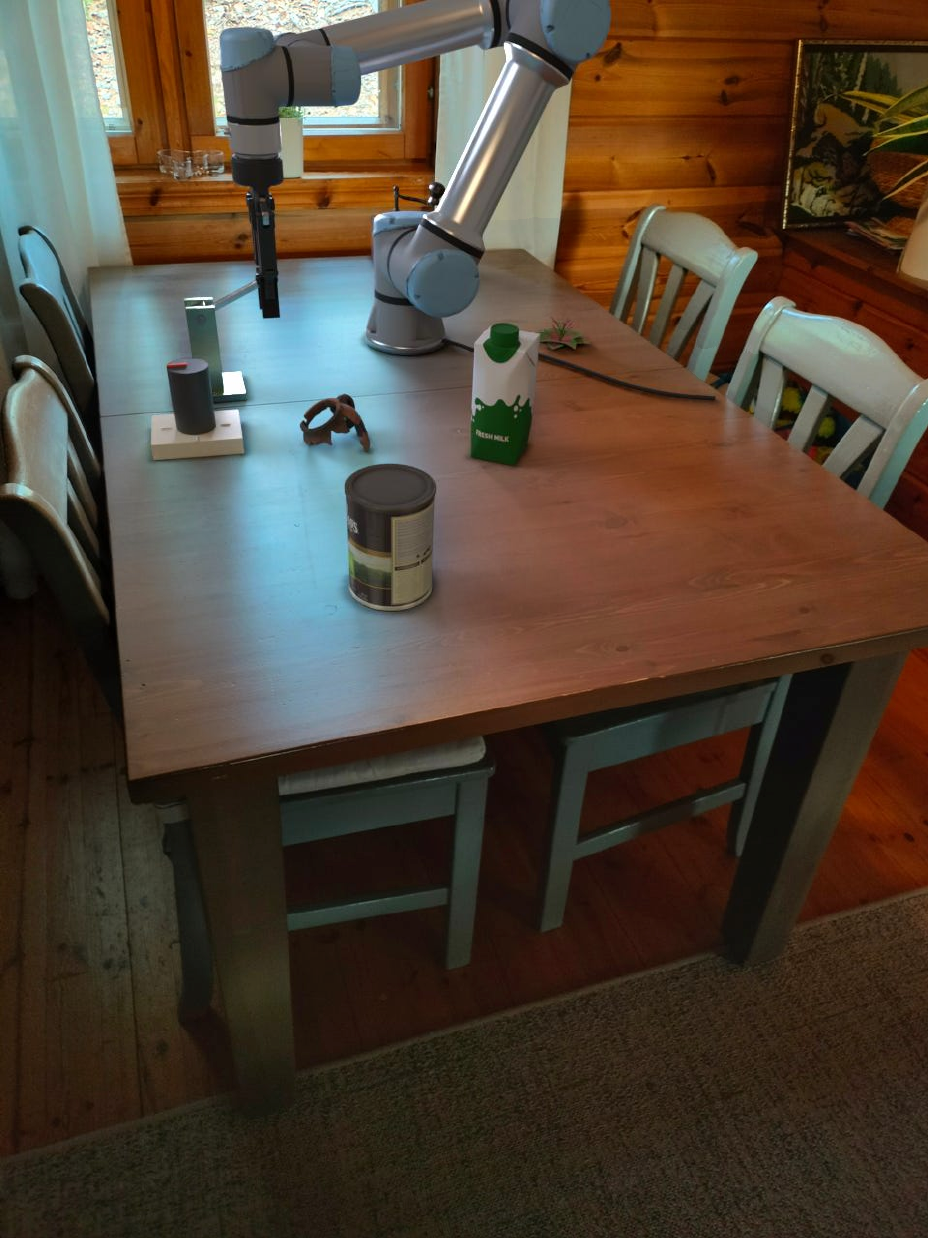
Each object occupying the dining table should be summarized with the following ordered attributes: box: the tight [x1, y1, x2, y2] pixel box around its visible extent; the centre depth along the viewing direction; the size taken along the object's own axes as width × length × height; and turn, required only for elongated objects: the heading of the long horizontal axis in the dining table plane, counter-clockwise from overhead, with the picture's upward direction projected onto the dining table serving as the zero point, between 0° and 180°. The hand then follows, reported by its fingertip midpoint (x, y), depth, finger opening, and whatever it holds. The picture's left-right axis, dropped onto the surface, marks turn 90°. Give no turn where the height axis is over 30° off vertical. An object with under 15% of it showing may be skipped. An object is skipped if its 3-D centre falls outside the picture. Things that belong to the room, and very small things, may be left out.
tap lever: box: [194, 269, 279, 312], centre depth 145 cm, size 15×4×4 cm, turn 105°
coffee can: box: [344, 463, 437, 612], centre depth 106 cm, size 10×10×14 cm
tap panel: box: [150, 409, 245, 461], centre depth 137 cm, size 13×10×3 cm
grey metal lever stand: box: [183, 296, 248, 403], centre depth 148 cm, size 11×9×15 cm
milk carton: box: [470, 322, 540, 467], centre depth 134 cm, size 9×9×20 cm
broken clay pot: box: [299, 393, 371, 453], centre depth 139 cm, size 12×9×8 cm
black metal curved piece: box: [370, 181, 446, 262], centre depth 208 cm, size 16×11×18 cm
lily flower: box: [534, 315, 592, 351], centre depth 176 cm, size 12×12×5 cm
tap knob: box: [166, 357, 216, 435], centre depth 134 cm, size 6×6×10 cm
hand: (269, 312), depth 148 cm, fingers closed on tap lever, 4 cm apart
